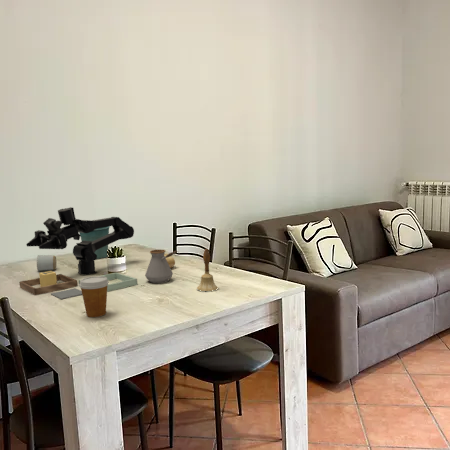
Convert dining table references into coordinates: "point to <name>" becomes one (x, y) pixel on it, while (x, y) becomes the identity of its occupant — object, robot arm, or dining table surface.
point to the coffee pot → (159, 267)
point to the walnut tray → (36, 291)
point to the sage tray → (125, 282)
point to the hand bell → (207, 275)
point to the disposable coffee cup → (94, 295)
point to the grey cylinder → (46, 262)
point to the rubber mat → (67, 293)
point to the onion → (170, 261)
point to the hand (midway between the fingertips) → (32, 246)
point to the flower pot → (94, 236)
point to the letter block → (47, 278)
